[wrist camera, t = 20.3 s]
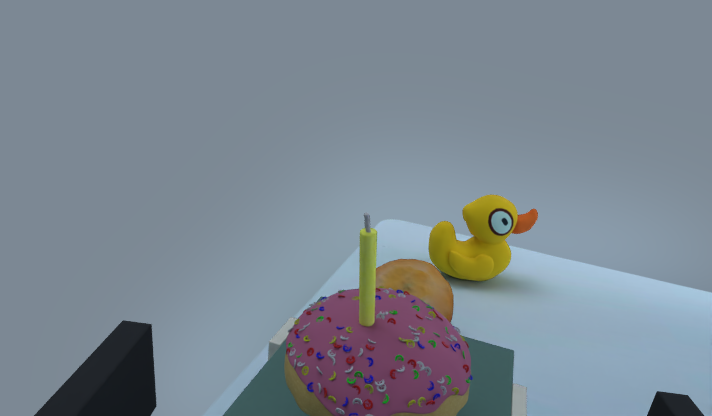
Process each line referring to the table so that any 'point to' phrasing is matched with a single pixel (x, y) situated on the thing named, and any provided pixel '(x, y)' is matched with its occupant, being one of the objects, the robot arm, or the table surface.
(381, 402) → the cupcake
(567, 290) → the table surface
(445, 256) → the duckling
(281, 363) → the lunchbox
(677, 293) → the table surface
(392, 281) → the fruit
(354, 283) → the table surface
